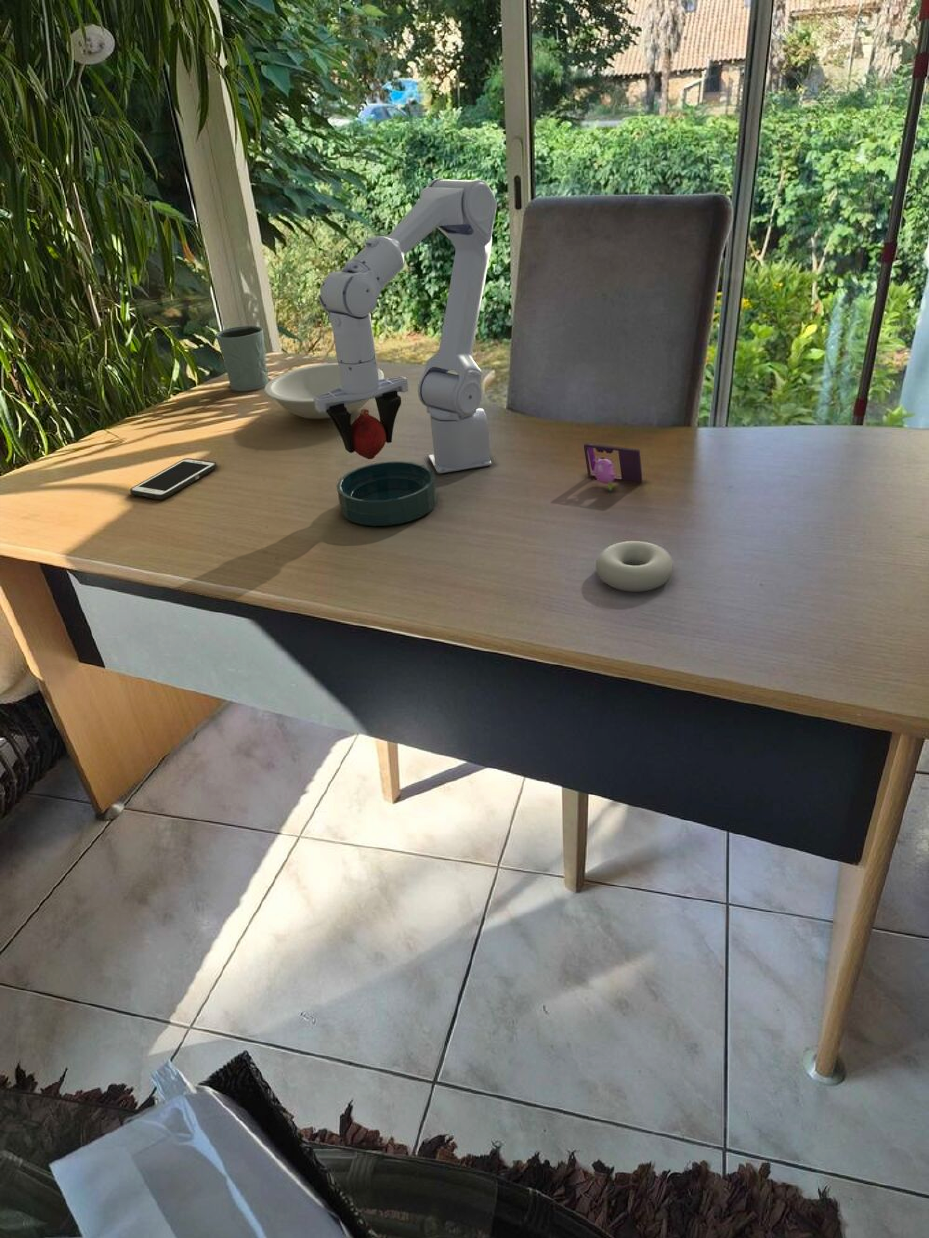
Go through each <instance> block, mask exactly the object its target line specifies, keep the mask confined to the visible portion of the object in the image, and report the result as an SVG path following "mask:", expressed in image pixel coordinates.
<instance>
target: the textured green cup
mask: <svg viewBox="0 0 929 1238" xmlns="http://www.w3.org/2000/svg"><path fill="white" fill-rule="evenodd" d="M215 337H216V340H217V345H218V346H219V350H220V354H221V356H222V360H223V363H224V367H225V371H226V374H227V377H228V381H229V385H230V389H231V390H233V391H236V392H250V391H251V392H252V391H257V390H260V389H263V388H265V386H266V384H267V383H268V382H269V381H270V380H269V375H268V372H269V371H268V367H267V356H266V347H265V335H264V329H263V327H261V326H258V325H257V326H256V325H242V326H233V327H229V328H225V329H222V330H219V331H218V332H217V333H216V334H215Z"/></svg>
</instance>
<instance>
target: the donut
mask: <svg viewBox="0 0 929 1238" xmlns="http://www.w3.org/2000/svg"><path fill="white" fill-rule="evenodd" d="M595 568H596V569H595V570H596V573H597V575H598V577H599V578H600V579H601V581H602V582H603V583H604V584H606V585H607V586H609V587H611V588H613V589H617V590H620V591H623V592H630V593H631V592H633V593H634V592H646V591H647V592H648V591H652V590H654V589H657V588H659V587H661V586H663V585H664V584H665V583H667V582H668V581H669V580H670V579H671V577H672V574H673V572H674V562H673V558H672V556H671V555H670V553H668V551H667V550H665V549H664V548H663V547H661V546H659V545H657V544H655V543H650V542H647V541H640V540H629V541H622V542H617V543H614V544H611V545H609V546H608V547H606V548H605V549H604V550H602V551H601V552H600V553H599V555H598V557H597V559H596V561H595Z"/></svg>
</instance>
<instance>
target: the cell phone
mask: <svg viewBox="0 0 929 1238" xmlns="http://www.w3.org/2000/svg"><path fill="white" fill-rule="evenodd" d="M217 468H218V465H217V462H215V461H210V460H203V459H197V458H192V457H191V458H189V457H187V458H186V457H185V458H183V459H180V460H179V461H177V462H174V463H173V464H172V465H170V466H168V467H166V468H164V469H163V470H161V471H159V472H157V473H156V474H154V475H152V476H150V477H148V478H147V479H145V480H143V481H141V482H139V483H138V484H136V485H134V486H132V487H131V488H130V489H129V491H130V494H131V495H132V496H137V497H141V498H142V497H145V498H149V499H155V500H165V499H166V498H168V497H170V496H173V494H175V493H177V492H179V491H181V490H182V489H183V488H186V487H187V486H189V485H190V484H192V483H194V482H196V481H197V480H199V479H201V478H202V477H204V476H205V475H208V474H209V473H210V472H212V471H214V470H215V469H217Z"/></svg>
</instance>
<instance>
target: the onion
mask: <svg viewBox="0 0 929 1238" xmlns="http://www.w3.org/2000/svg"><path fill="white" fill-rule="evenodd" d="M369 412H370V411H369V410H368V409H366V408H363V409H361V411H360V413H359V415H358V417H357V418H355V419H354V420H353V421H352V422H351V431H352V438H353V443H354V453H356V454H357V455H359V456H361V457H362V458H365V459H367V460H373V459H375V457H376V456H377V455H378V454H379V453H380V452H381V451H382V450H383V449H384V447H385V445H386V444H387V442H386V433H385V429H384V427H383V425H382V423H381V422H380V419H378V418H376V417H375V416H373V415H371V414H370V413H369Z"/></svg>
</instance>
